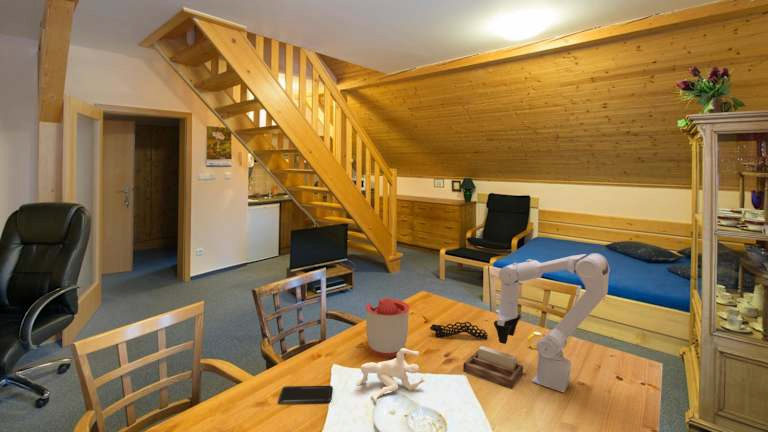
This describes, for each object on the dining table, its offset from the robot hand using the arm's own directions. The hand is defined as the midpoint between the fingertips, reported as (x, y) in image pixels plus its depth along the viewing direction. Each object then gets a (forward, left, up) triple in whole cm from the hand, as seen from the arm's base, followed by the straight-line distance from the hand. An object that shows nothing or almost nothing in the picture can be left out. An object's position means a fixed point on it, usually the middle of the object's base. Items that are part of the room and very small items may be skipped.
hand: (506, 338), depth 134 cm
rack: (+1, +7, -9) cm, 12 cm away
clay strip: (+1, +5, -8) cm, 10 cm away
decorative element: (+22, -10, -10) cm, 26 cm away
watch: (-5, -20, -10) cm, 22 cm away
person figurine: (+23, +36, -10) cm, 43 cm away
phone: (+39, +54, -10) cm, 68 cm away
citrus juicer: (+38, +17, -10) cm, 43 cm away
